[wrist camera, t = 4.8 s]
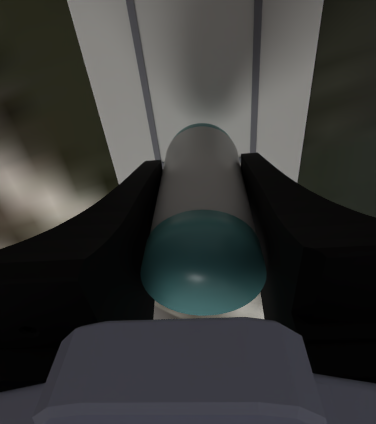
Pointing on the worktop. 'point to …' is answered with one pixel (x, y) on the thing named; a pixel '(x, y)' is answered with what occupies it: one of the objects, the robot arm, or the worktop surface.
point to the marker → (202, 229)
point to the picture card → (200, 73)
